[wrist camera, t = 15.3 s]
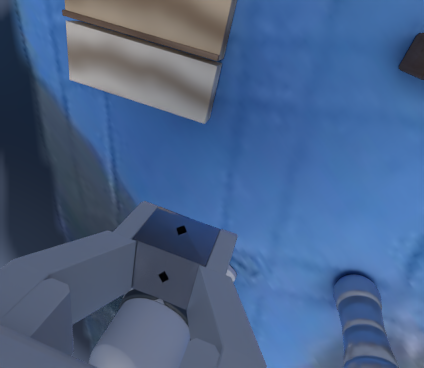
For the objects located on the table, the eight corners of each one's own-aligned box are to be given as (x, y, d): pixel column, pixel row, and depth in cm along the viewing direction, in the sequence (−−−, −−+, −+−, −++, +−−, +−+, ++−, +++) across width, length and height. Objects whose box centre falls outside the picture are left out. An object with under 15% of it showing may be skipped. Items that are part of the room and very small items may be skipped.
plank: (209, 118, 38) (204, 123, 36) (80, 76, 40) (69, 79, 39) (222, 63, 34) (217, 66, 32) (78, 20, 37) (65, 20, 35)
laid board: (223, 58, 34) (217, 61, 31) (79, 16, 36) (62, 15, 34) (239, -10, 30) (233, -13, 28) (77, -52, 33) (58, -59, 30)
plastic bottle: (330, 295, 47) (345, 444, 30) (334, 265, 44) (353, 412, 27) (373, 301, 45) (414, 463, 28) (380, 270, 42) (431, 432, 25)
